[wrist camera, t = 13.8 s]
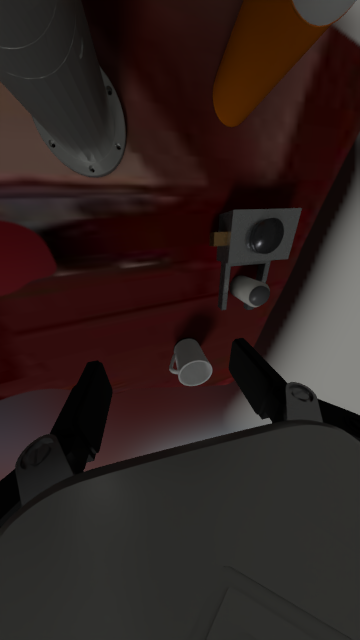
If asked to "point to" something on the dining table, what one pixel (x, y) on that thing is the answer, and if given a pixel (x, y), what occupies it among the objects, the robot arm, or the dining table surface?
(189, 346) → the mug
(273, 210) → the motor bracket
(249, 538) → the robot arm
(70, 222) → the dining table surface
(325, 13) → the shaker bottle
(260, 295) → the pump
